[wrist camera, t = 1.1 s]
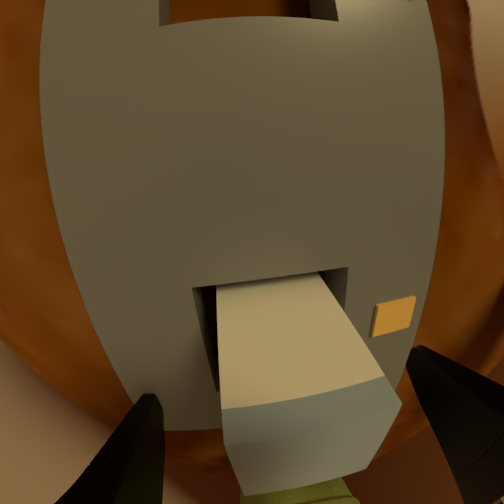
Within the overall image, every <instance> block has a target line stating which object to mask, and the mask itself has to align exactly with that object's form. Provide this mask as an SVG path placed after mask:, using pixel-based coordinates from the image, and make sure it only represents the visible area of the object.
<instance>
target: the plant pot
mask: <svg viewBox="0 0 504 504" xmlns="http://www.w3.org/2000/svg"><path fill="white" fill-rule="evenodd" d="M240 504H360V502H359V501H358V500H357V498H355V497H353V496H352V495H351V493H350V491H349V490H348V488H347V486H346V485H345V483H344V481H343V479H342V478H341V477H339V478H335V479H332V480H328V481H324V482H320V483H316V484H312V485H308V486H303V487H298V488H293V489H288V490H283V491H277V492H270V493H263V494H256V495H247V496H244V494H243V492H242V489H241V493H240Z"/></svg>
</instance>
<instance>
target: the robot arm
mask: <svg viewBox="0 0 504 504" xmlns="http://www.w3.org/2000/svg"><path fill="white" fill-rule="evenodd" d="M406 369H407V372H408V374H409V377H410V379H411V382H412V385H413V387H414V390H415V392H416V395H417V398H418V400H419V402H420V404H421V406H422V408H423V410H424V412H425V414H426V416H427V418H428V420H429V423H430V425H431V427H432V429H433V431H434V433H435V435H436V437H437V439H438V442H439V444H440V446H441V448H442V450H443V452H444V455H445V457H446V460H447V462H448V464H449V466H450V469H451V471H452V473H453V476H454V478H455V481H456V484H457V486H458V489H459V491H460V494H461V496H462V499H463V502H464V504H492V503H494V502H495V501H497V500H498V499H501V500H502V501H501V502H499V503H498V504H504V386H503V385H501V384H499V383H497V382H495V381H492V380H491V379H489V378H487V377H485V376H483V375H481V374H479V373H477V372H475V371H473V370H471V369H469V368H467V367H465V366H463V365H461V364H459V363H457V362H455V361H453V360H451V359H449V358H447V357H445V356H443V355H441V354H439V353H437V352H435V351H433V350H431V349H429V348H427V347H425V346H423V345H418V346H415V347H412V348H411V350H410V352H409V355H408V358H407V361H406ZM164 460H165V438H164V412H163V407H162V405H161V403H160V401H159V399H158V397H157V396H156V394H155V393H144V394H142V395H141V397H140V398H139V399H138V401H137V402H136V403H135V404H134V406H133V407H132V408H131V410H130V411H129V412H128V414H127V415H126V416H125V418H124V419H123V420H122V422H121V423H120V424H119V426H118V427H117V428H116V430H115V431H114V432H113V434H112V435H111V436H110V438H109V439H108V440H107V442H106V443H105V444H104V446H103V447H102V448H101V449H100V451H99V452H98V453H97V455H96V456H95V457H94V459H93V460H92V461H91V463H90V466H89V465H88V467H87V468H86V469H85V470H84V472H83V473H82V474H81V476H80V477H79V478H78V479H77V480H76V482H75V483H74V484H73V485H72V486H71V487H70V488H69V489H68V490H67V492H66V493H64V494H63V496H61V497H60V498H59V499H58V500H57V501H56V503H54V504H162V495H163V476H164Z"/></svg>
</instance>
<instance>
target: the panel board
mask: <svg viewBox="0 0 504 504" xmlns="http://www.w3.org/2000/svg"><path fill="white" fill-rule="evenodd" d="M308 1H309V7H310V14H311V19H310V18H296V17H269V16H257V17H230V18H216V19H206V20H197V21H190V22H183V23H177V24H171V25H170V13H169V0H46V2H45V9H44V16H43V24H42V34H41V47H40V74H39V83H40V112H41V125H42V136H43V144H44V152H45V160H46V166H47V172H48V178H49V184H50V189H51V194H52V199H53V203H54V208H55V212H56V216H57V220H58V224H59V228H60V232H61V236H62V239H63V243H64V246H65V250H66V253H67V256H68V259H69V262H70V266H71V269H72V272H73V275H74V277H75V280H76V283H77V286H78V289H79V291H80V294H81V297H82V299H83V302H84V304H85V307H86V310H87V312H88V314H89V317H90V319H91V322H92V324H93V326H94V328H95V331H96V333H97V335H98V337H99V340H100V342H101V344H102V346H103V348H104V350H105V352H106V354H107V356H108V358H109V360H110V362H111V364H112V366H113V368H114V370H115V372H116V374H117V376H118V378H119V380H120V381H121V383H122V385H123V387H124V389H125V390H126V392H127V394H128V396H129V397H130V399H131V401H132V402H133V404H135V403H136V402H137V401H138V399H139V398H140V397H141V395H142V394H144V393H155V394H156V396H157V397H158V399H159V401H160V403H161V405H162V407H163V412H164V431H183V430H205V429H218V428H223V425H222V410H221V394H220V376H219V355H215V352H214V348H213V344H212V339H211V334H210V330H209V325H208V320H207V315H206V310H205V305H204V300H203V295H202V290H201V287H203V286H211V285H219V284H227V283H236V282H243V281H251V280H259V279H266V278H274V277H281V276H288V275H296V274H303V273H310V272H316V271H323V270H324V283H325V284H326V286H327V287H328V288H329V290H330V291H331V293H332V294H333V296H334V297H335V299H336V300H337V302H338V303H339V305H340V306H341V308H342V309H343V311H344V312H345V314H346V315H347V317H348V318H349V320H350V321H351V323H352V324H353V326H354V327H355V329H356V331H357V332H358V334H359V335H360V337H361V338H362V340H363V341H364V343H365V344H366V346H367V348H368V349H369V351H370V352H371V354H372V355H373V357H374V359H375V360H376V362H377V363H378V365H379V367H380V368H381V370H382V371H383V373H384V375H385V376H386V378H387V379H388V381H389V383H390V384H391V386H392V388H393V389H394V390H396V388H397V386H398V383H399V381H400V378H401V376H402V373H403V370H404V368H405V365H406V361H407V358H408V355H409V352H410V350H411V347H412V344H413V341H414V338H415V335H416V332H417V328H418V325H419V321H420V318H421V314H422V311H423V307H424V303H425V299H426V295H427V291H428V286H429V282H430V277H431V272H432V267H433V262H434V257H435V251H436V245H437V239H438V232H439V225H440V216H441V207H442V197H443V184H444V163H445V124H444V104H443V91H442V81H441V72H440V65H439V58H438V52H437V46H436V41H435V35H434V30H433V26H432V21H431V17H430V13H429V9H428V5H427V2H426V0H308Z"/></svg>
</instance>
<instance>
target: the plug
mask: <svg viewBox="0 0 504 504" xmlns="http://www.w3.org/2000/svg"><path fill="white" fill-rule="evenodd" d="M216 299H217V331H218V355H219V376H220V394H221V410H222V425H223V438H224V447H225V449H226V452H227V455H228V457H229V460H230V462H231V465H232V467H233V470H234V472H235V475H236V477H237V480H238V482H239V485H240V487H241V489H242V492H243V494H244V496H247V495H256V494H263V493H270V492H277V491H283V490H288V489H293V488H298V487H303V486H308V485H312V484H316V483H320V482H324V481H328V480H332V479H335V478H339V477H342V476H345V475H349V474H352V473H355V472H358V471H361V470H364V469H366V468H367V466H368V465H369V463H370V462H371V460H372V458H373V457H374V455H375V454H376V452H377V450H378V449H379V447H380V445H381V443H382V442H383V440H384V438H385V436H386V435H387V433H388V431H389V429H390V427H391V426H392V424H393V422H394V420H395V418H396V416H397V414H398V412H399V410H400V408H401V406H402V403H401V401H400V399H399V398H398V396H397V394H396V393H395V391H394V389H393V388H392V386H391V384H390V383H389V381H388V379H387V378H386V376H385V375H384V373H383V371H382V370H381V368H380V367H379V365H378V363H377V362H376V360H375V359H374V357H373V355H372V354H371V352H370V351H369V349H368V348H367V346H366V344H365V343H364V341H363V340H362V338H361V337H360V335H359V334H358V332H357V331H356V329H355V327H354V326H353V324H352V323H351V321H350V320H349V318H348V317H347V315H346V314H345V312H344V311H343V309H342V308H341V306H340V305H339V303H338V302H337V300H336V299H335V297H334V296H333V294H332V293H331V291H330V290H329V288H328V287H327V286H326V284H325V283H324V281H323V280H322V278H321V277H320V275H319V274H318V272H317V271H316V272H310V273H303V274H296V275H288V276H281V277H274V278H266V279H259V280H251V281H243V282H236V283H227V284H219V285H216Z"/></svg>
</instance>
